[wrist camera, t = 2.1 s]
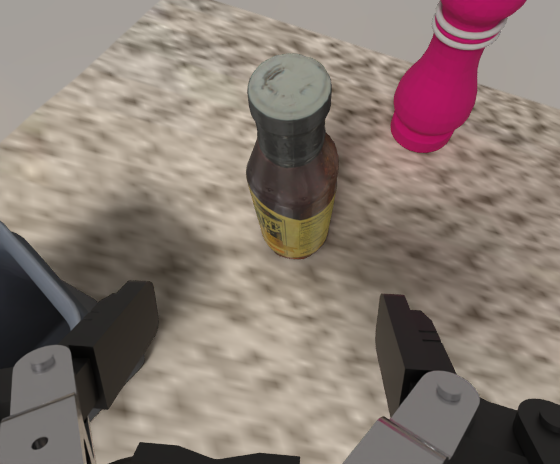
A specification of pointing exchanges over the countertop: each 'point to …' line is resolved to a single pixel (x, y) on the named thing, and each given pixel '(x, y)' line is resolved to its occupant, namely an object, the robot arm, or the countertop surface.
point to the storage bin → (35, 303)
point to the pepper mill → (447, 72)
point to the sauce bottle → (292, 154)
